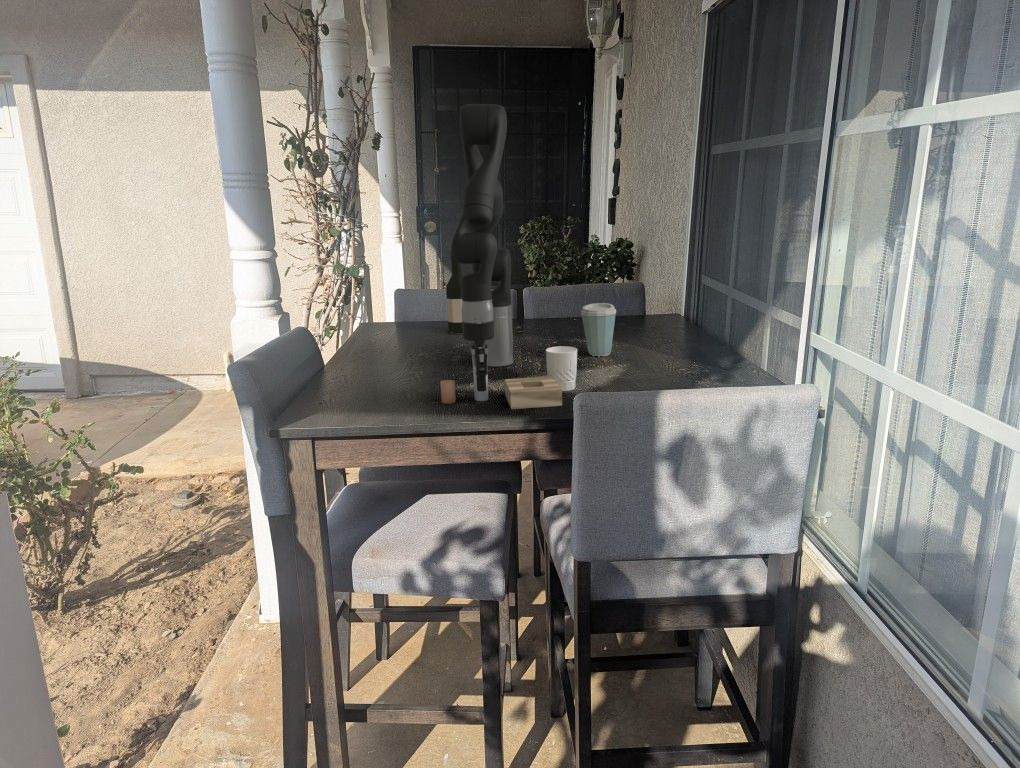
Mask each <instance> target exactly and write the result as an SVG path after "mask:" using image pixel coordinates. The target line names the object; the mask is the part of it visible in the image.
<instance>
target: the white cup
mask: <svg viewBox="0 0 1020 768" xmlns="http://www.w3.org/2000/svg"><path fill="white" fill-rule="evenodd" d="M545 358H546V359H545V360H546V371H547V373H546V375H547V377H551V376H553V378H554V379H555V380H556V382H557V383H558V384H559V386H560V387H561V388H562V392H568V391H569V392H570V391H573V390H574V389H576V386H577V384H576V383H577V382H576V380H577V379H576V378H577V370H578V369H577V367H578V348H576V347H574V346H561V345H559V346H552V347H547V348H546V349H545Z"/></svg>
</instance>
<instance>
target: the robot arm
mask: <svg viewBox="0 0 1020 768" xmlns="http://www.w3.org/2000/svg"><path fill="white" fill-rule="evenodd" d="M459 129H460V130H459V131H460V138H461V145H462V150H463V156H464V157H463V158H464V166H465V172H466V173H465V175H466V187H465V189H464V196H463V204H462V213H461V217H460V219H459V223H458V225H457V229H456V230H455V233H454V235H453V238H452V241H451V247H450V254H451V253H452V256H453V258H454V260H455V261H456V262H458V263H461V265H462V264H463V265H464V264H465V265H467V264H470V265H471V264H472V265H471V266H472V273H468V274H464V275H463V277H462V279H461V290H462V330H463V334H462V339H464V340H465V341H469V342H471V341H472V343H471V345H470V348H469V349H470V353H471V362H472V367H473V366H474V367H476V373H475V375H476V378H477V391H479V392H480V391H486V375H488V367H503V366H506V367H507V366H509V365H512V364H514V341H513V340H514V338H513V337H514V336H513V311H512V310H513V309H512V288H511V286H512V285H511V280H512V277H511V276H512V258H511V253H510V250H509V248H506V247H498V241H497V239H496V237H495V235H493V233H492V232H493V230H494V229H495V227H496V226H497V225H498V224H499V222H500V220H501V218H502V216H503V213H504V193H503V192H504V190H503V187H502V184H501V182H500V181H499V179H498V176H499V172H500V167H501V164H502V158H503V153H504V148H505V143H506V138H507V132H508V117H507V112H506V108H505V106H503V105H501V104H495V103H494V104H493V103H492V104H489V103H467V104H465V105H463V106H462V107H461V109H460V113H459ZM479 146H489V150H488V153H487V154H486V156H485V158H484V159H483V156H482V154H481V152H480V149H479ZM492 282H499V285H497V286H496V287H495V288H494V289H493V290H492ZM475 359H476V361H475ZM479 368H484V370H479Z"/></svg>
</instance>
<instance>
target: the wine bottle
mask: <svg viewBox="0 0 1020 768" xmlns="http://www.w3.org/2000/svg"><path fill="white" fill-rule="evenodd" d="M450 258H451V276H450V278H449V280H448V282H447V284H446V286H445V292H446V293H445V294H446V307H447V308H446V310H447V311H446V312H447V326H448V327H447V328H448V333H449V332H453V333H463V330H462V290H461V279H462V277H463V276H464V275H463V273H462V264H461V263H458V262H456V261H455V260H454V258H453V256H452V253H451V252H450Z"/></svg>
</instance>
